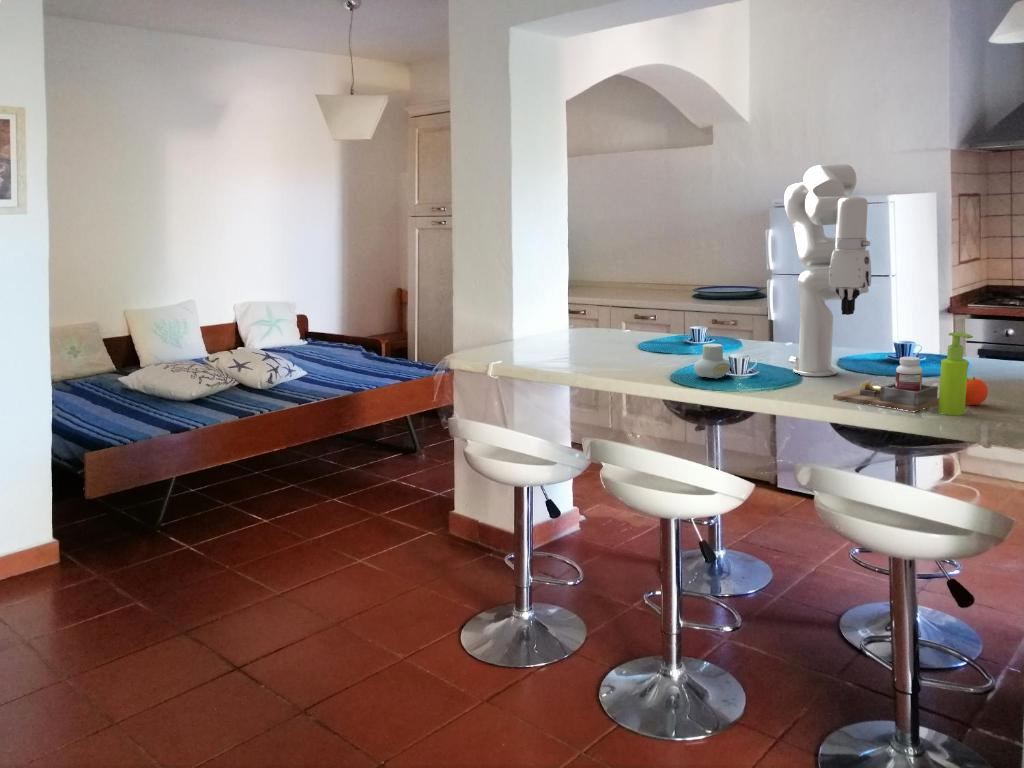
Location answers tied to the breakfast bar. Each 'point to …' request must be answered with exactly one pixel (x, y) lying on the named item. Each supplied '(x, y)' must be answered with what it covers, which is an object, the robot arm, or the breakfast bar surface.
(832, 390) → the breakfast bar surface
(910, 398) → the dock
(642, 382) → the breakfast bar surface
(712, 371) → the air freshener
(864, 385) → the lock pin
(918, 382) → the pill bottle
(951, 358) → the soap dispenser
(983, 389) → the clementine
